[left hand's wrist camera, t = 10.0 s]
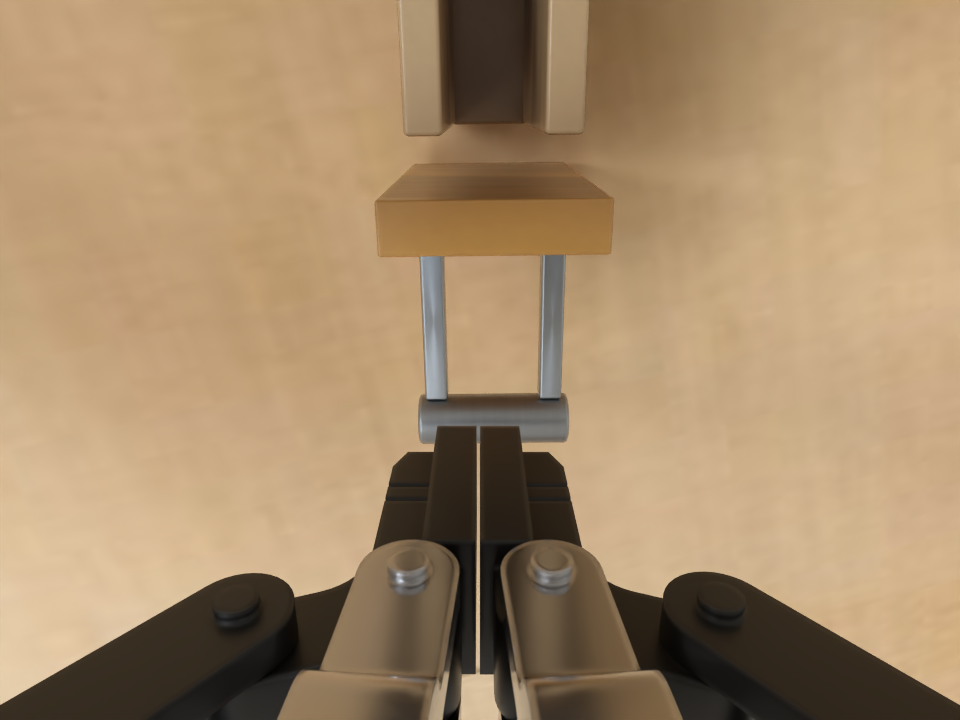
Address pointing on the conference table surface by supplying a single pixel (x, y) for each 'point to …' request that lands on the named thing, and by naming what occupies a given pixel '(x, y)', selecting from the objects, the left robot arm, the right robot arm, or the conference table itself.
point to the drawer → (493, 183)
